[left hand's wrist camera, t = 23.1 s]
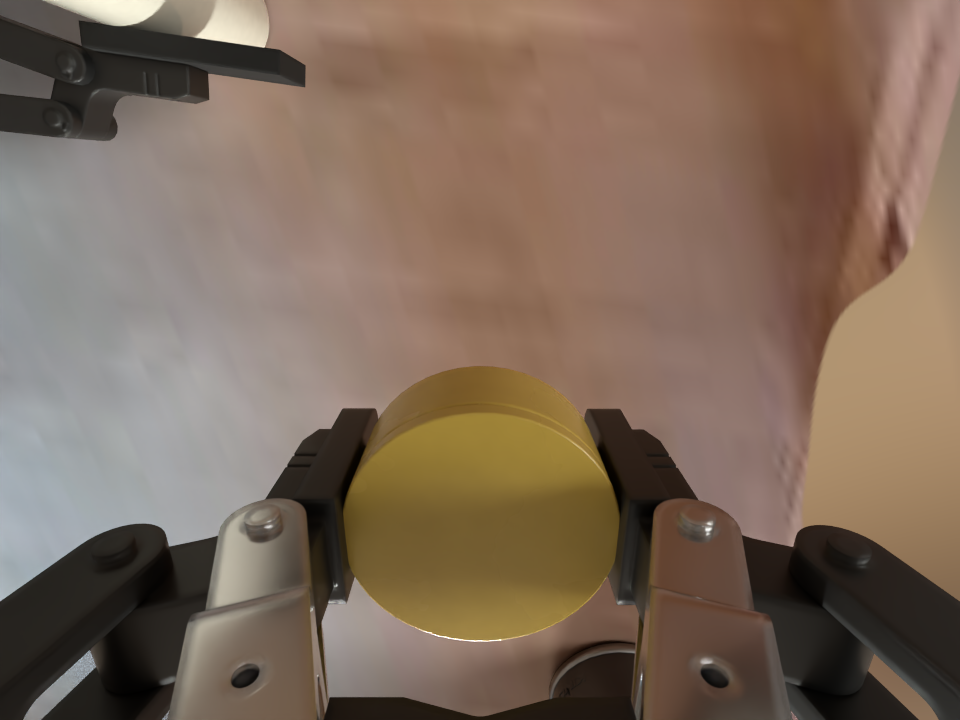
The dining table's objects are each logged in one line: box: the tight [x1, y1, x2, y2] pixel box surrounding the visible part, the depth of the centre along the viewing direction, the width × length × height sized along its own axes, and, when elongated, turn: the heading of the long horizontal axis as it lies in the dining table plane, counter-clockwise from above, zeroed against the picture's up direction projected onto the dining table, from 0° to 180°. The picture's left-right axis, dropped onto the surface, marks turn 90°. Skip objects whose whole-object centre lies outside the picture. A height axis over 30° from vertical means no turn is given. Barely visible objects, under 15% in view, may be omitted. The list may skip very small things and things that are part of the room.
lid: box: [343, 366, 620, 641], centre depth 10 cm, size 5×5×2 cm
